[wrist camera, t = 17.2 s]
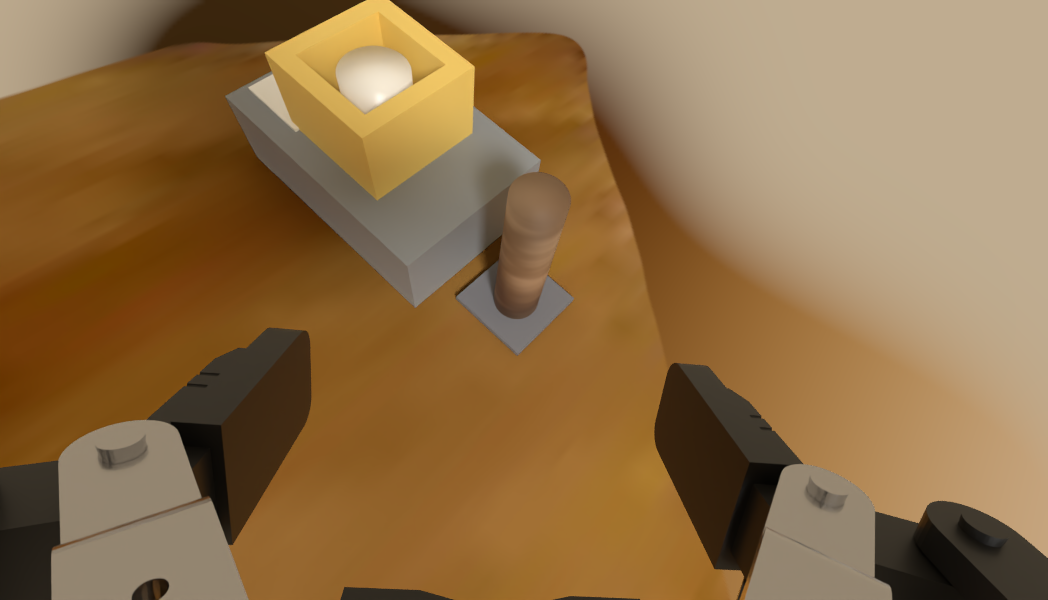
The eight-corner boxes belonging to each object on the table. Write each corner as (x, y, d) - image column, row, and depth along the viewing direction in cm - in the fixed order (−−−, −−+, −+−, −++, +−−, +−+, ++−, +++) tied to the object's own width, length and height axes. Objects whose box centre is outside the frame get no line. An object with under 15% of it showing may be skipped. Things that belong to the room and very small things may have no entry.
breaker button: (345, 154, 37) (319, 67, 30) (392, 124, 38) (378, 35, 32) (386, 191, 36) (369, 110, 29) (432, 158, 38) (427, 74, 31)
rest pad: (456, 299, 36) (456, 296, 36) (513, 249, 39) (514, 246, 38) (517, 355, 35) (517, 353, 35) (572, 300, 37) (573, 298, 37)
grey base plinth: (256, 156, 40) (185, 21, 29) (377, 84, 44) (352, -56, 34) (415, 307, 36) (397, 212, 25) (529, 211, 40) (554, 97, 30)
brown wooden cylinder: (484, 298, 36) (494, 195, 25) (515, 270, 37) (537, 161, 27) (517, 327, 36) (541, 235, 25) (547, 298, 37) (583, 199, 26)
